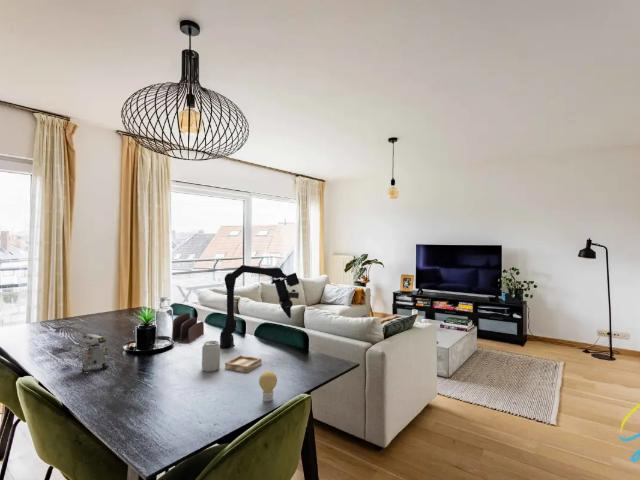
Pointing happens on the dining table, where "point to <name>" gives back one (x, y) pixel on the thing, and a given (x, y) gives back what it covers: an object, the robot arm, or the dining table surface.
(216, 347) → the can
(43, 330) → the dining table surface
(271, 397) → the light bulb
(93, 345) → the figurine
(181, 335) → the letter holder
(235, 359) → the wooden tray
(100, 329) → the dining table surface
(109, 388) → the dining table surface
